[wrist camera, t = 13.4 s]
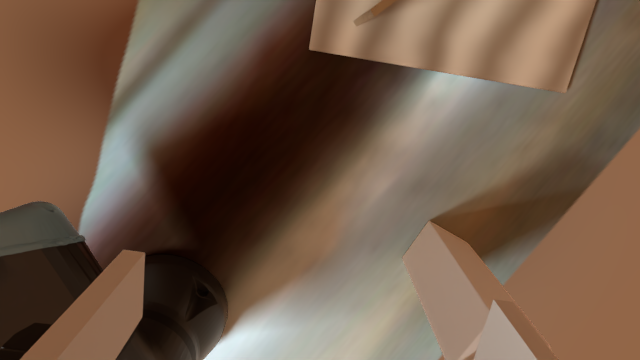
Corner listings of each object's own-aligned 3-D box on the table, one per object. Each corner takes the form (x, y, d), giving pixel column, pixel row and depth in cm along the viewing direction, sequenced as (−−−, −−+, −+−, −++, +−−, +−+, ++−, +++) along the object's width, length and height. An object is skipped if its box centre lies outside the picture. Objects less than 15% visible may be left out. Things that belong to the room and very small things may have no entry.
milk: (428, 219, 50) (512, 340, 29) (468, 242, 51) (577, 375, 30) (400, 258, 52) (461, 400, 31) (439, 280, 53) (525, 431, 32)
